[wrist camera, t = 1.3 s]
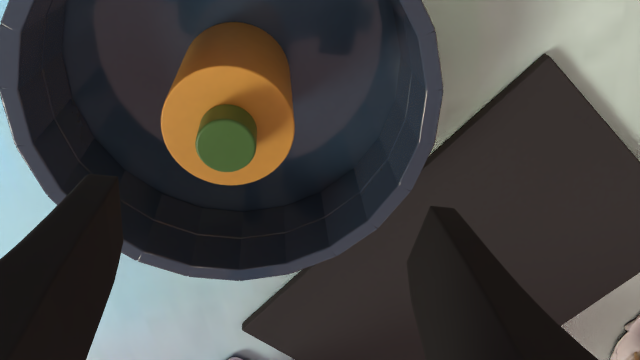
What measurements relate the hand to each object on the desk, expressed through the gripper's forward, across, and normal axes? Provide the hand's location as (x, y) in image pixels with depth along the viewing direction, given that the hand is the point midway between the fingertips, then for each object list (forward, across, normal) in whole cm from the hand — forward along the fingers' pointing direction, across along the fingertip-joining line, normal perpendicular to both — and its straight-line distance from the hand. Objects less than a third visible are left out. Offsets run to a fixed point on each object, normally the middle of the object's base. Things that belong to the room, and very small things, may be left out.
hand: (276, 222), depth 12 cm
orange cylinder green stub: (+10, +1, +2) cm, 10 cm away
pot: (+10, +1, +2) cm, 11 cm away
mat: (+9, -11, +11) cm, 18 cm away
